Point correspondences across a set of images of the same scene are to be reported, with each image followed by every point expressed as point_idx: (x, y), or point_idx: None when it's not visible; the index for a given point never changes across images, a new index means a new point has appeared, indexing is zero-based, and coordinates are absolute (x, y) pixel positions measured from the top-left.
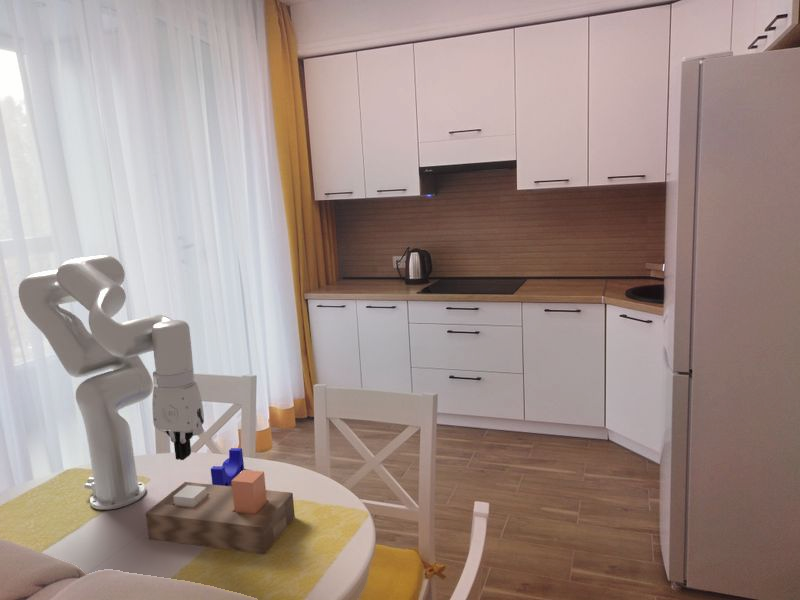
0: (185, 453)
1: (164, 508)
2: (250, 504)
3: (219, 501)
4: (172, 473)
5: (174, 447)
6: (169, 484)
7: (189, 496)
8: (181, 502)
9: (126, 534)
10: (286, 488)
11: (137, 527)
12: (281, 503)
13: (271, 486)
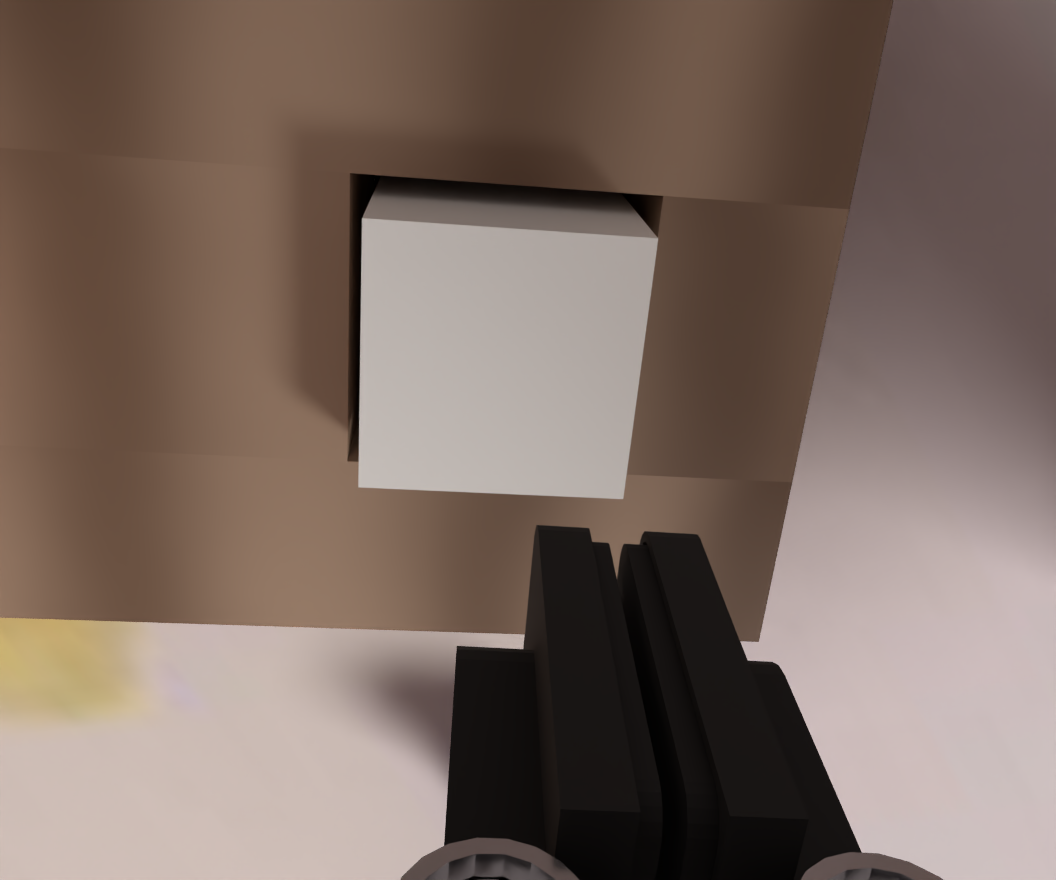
0: (487, 661)
1: (709, 108)
2: None
3: (133, 335)
4: (1041, 873)
5: (819, 762)
6: (999, 749)
7: (438, 257)
8: (541, 216)
9: (1042, 21)
10: (21, 819)
11: (988, 145)
12: None
13: (161, 827)
